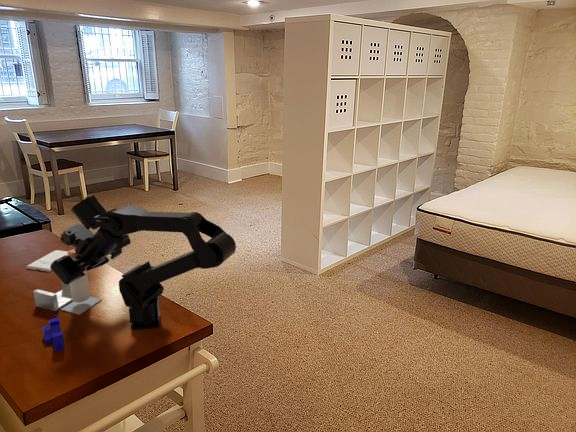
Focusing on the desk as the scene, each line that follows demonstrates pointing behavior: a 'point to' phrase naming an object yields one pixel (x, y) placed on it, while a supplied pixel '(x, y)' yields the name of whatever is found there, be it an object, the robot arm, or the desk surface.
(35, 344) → the desk surface
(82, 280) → the white upright post
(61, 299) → the bracket
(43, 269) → the external hard drive
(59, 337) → the cable holder
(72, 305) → the pad
